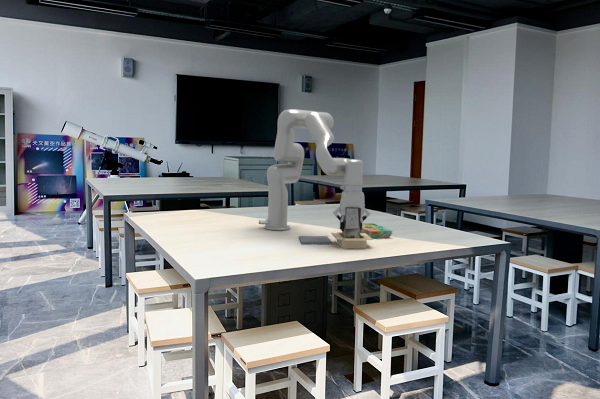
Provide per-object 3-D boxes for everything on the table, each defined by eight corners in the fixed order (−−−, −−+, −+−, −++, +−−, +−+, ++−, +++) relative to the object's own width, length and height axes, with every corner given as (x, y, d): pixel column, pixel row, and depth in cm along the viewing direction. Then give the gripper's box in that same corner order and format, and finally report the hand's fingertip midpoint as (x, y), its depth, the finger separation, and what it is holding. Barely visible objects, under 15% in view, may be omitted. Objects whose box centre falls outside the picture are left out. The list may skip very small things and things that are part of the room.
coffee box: (359, 246, 208) (361, 208, 206) (344, 246, 207) (346, 207, 205) (355, 241, 217) (357, 205, 215) (340, 241, 216) (342, 204, 214)
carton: (336, 249, 202) (337, 239, 201) (329, 240, 220) (330, 231, 219) (373, 249, 203) (374, 239, 203) (363, 240, 221) (363, 231, 221)
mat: (301, 244, 210) (301, 241, 210) (298, 238, 223) (298, 236, 223) (332, 244, 211) (332, 242, 211) (327, 238, 224) (327, 236, 224)
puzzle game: (368, 229, 225) (352, 222, 244) (368, 239, 226) (351, 231, 245) (392, 228, 229) (373, 221, 248) (391, 238, 229) (373, 231, 248)
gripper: (333, 189, 204) (332, 232, 207) (375, 190, 206) (372, 233, 208) (330, 187, 212) (329, 229, 214) (370, 188, 214) (368, 229, 216)
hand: (350, 230), depth 211 cm, fingers closed on coffee box, 6 cm apart
